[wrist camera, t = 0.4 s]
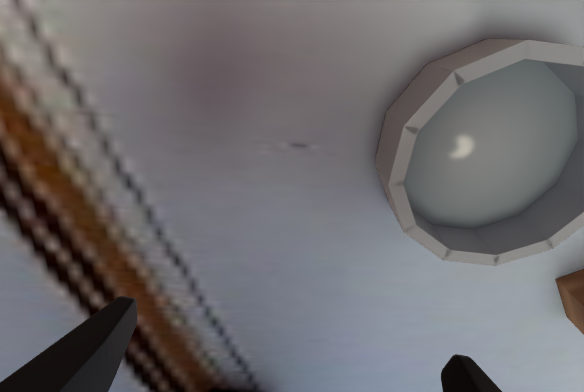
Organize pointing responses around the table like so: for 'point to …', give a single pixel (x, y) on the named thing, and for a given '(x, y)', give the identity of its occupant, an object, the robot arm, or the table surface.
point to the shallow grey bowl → (489, 151)
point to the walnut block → (573, 297)
